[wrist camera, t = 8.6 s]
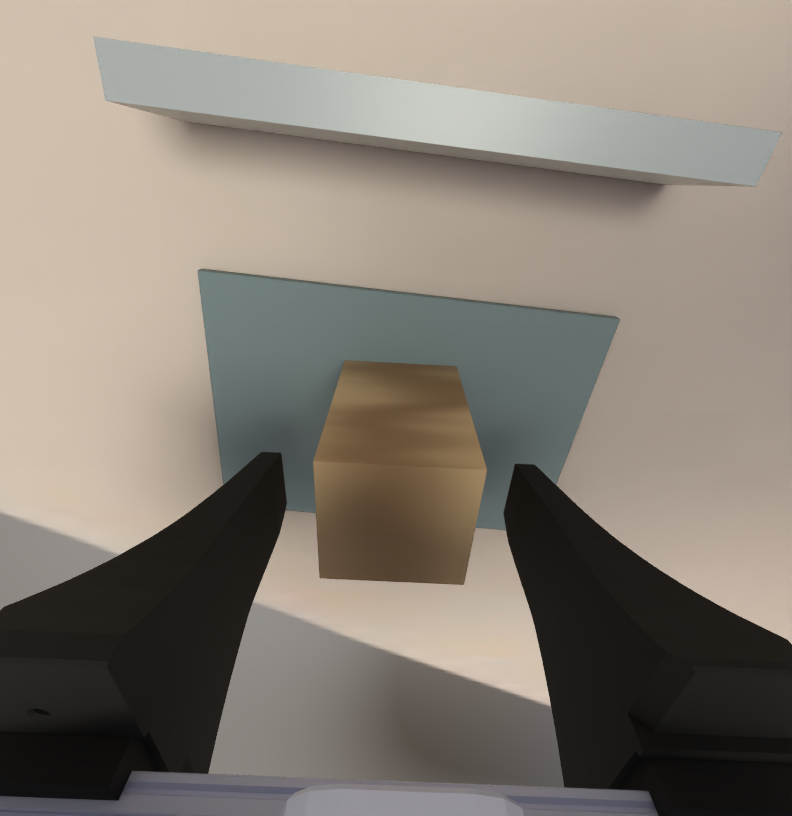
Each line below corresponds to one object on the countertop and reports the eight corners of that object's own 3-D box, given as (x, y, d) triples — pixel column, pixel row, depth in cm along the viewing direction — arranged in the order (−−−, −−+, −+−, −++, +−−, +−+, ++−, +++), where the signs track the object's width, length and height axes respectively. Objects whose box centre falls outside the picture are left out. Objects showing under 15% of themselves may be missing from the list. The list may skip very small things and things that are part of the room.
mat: (616, 317, 14) (619, 319, 14) (535, 528, 19) (537, 533, 19) (201, 268, 13) (197, 270, 13) (228, 500, 18) (225, 504, 18)
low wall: (681, 144, 12) (781, 132, 9) (666, 184, 12) (755, 186, 9) (179, 76, 11) (93, 36, 8) (184, 121, 11) (105, 100, 8)
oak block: (456, 366, 15) (487, 470, 9) (444, 457, 17) (463, 584, 11) (344, 360, 15) (313, 461, 9) (345, 452, 17) (319, 578, 11)
